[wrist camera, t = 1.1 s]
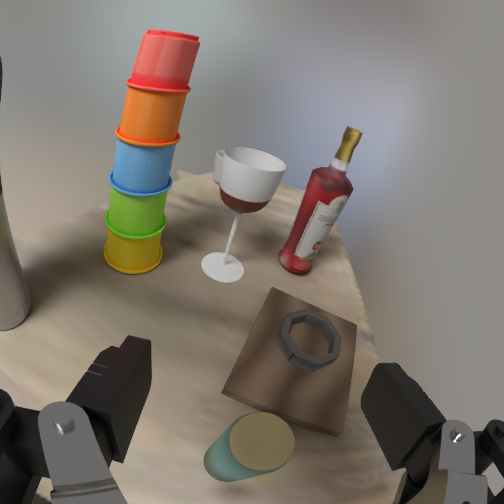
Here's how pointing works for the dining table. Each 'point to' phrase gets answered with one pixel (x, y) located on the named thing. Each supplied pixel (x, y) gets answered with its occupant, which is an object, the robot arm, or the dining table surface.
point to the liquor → (320, 207)
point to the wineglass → (242, 200)
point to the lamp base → (296, 364)
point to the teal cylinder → (250, 448)
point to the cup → (218, 165)
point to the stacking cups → (147, 150)
